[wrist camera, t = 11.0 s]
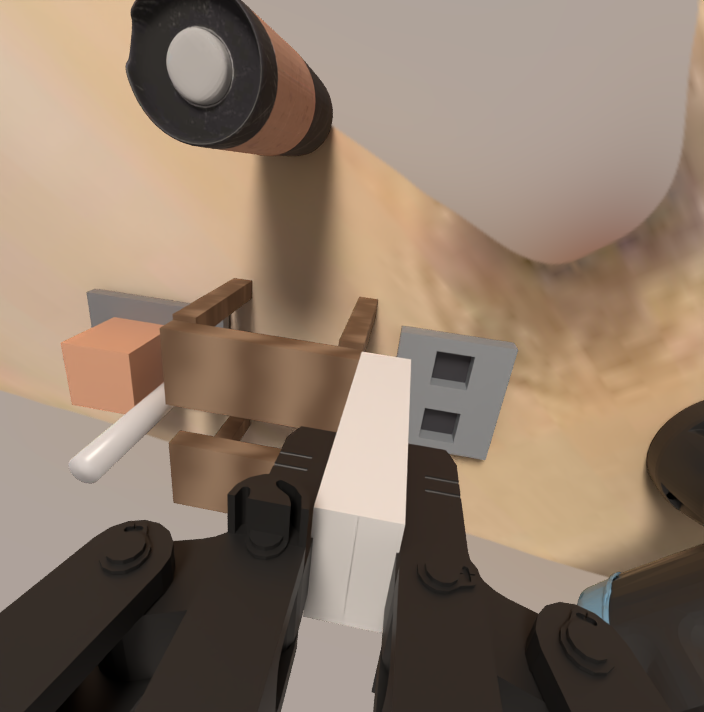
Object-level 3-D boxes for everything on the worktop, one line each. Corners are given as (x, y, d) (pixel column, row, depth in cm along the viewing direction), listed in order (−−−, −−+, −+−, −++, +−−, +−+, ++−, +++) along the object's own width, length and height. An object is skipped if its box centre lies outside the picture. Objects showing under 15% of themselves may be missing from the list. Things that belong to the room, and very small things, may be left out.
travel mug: (350, 134, 40) (292, 103, 21) (280, 173, 42) (175, 174, 24) (312, 46, 37) (212, -73, 19) (241, 92, 39) (90, 24, 21)
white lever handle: (228, 309, 48) (98, 404, 28) (229, 401, 53) (119, 535, 33) (95, 288, 49) (-116, 365, 30) (108, 380, 54) (-66, 497, 35)
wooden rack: (396, 302, 45) (387, 358, 32) (373, 447, 53) (357, 543, 39) (82, 255, 48) (-50, 288, 35) (103, 399, 56) (3, 472, 42)
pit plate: (514, 342, 45) (518, 350, 43) (482, 449, 51) (485, 460, 49) (402, 325, 46) (401, 331, 44) (383, 432, 52) (382, 441, 50)
